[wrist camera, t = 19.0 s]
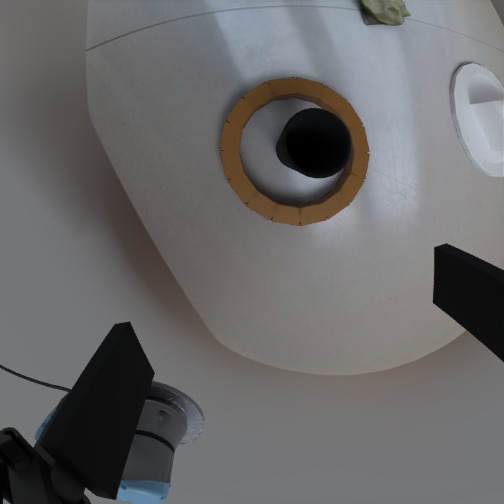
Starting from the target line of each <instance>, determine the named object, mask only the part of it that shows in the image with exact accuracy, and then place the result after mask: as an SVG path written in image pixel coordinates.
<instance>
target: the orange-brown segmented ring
mask: <svg viewBox="0 0 504 504" xmlns="http://www.w3.org/2000/svg"><path fill="white" fill-rule="evenodd" d="M288 98H297V99H301V100H305V101H309V102H313V103H315V104H317V105H318V106H320V107H321V108H322V109H324V110H327V111H329V112H331V113H333V114H335V115H336V116H337V117H338V118H339V119H340V120H342V122H343V123H344V125H345V126H346V127H347V130H348V132H349V134H350V139H351V153H350V156H349V159H348V161H347V163H346V164H345V170H344V173H343V175H342V177H341V178H340V180H339V181H338V183H337V184H336V186H335V188H334V189H333V190H332V191H331V192H329V193H328V194H326V195H325V196H323V197H322V198H321V199H319V200H318V201H315V202H311V203H306V204H301V205H297V206H295V205H290V204H284V203H279V202H274V201H273V200H271V199H270V198H268V197H267V196H265V195H263V194H262V193H260V192H259V191H257V190H256V188H255V187H254V185H253V184H252V183H251V181H250V180H249V179H248V177H247V176H246V174H245V173H244V170H243V166H242V161H241V157H240V153H239V146H240V140H241V134H242V130H243V128H244V127H245V125H246V124H247V122H248V121H249V119H250V118H251V116H252V115H253V113H254V112H255V111H257V110H259V109H260V108H262V107H263V106H265V105H267V104H268V103H270V102H271V101H275V100H281V99H288ZM346 102H347V100H346V99H344V98H343V97H342V96H340V95H339V94H337V93H336V92H335V91H333V90H332V89H330V88H329V87H328V86H326V85H325V86H324V87H323V84H321V83H318V82H314V81H310V80H306V79H302V78H298V77H297V78H296V79H295V77H292V78H285V79H278V80H271V81H268V82H264V83H263V84H261V85H259V86H258V87H256V88H254V89H253V90H251V91H250V92H248V93H246V94H245V95H243V97H242V98H240V99H239V101H238V102H237V104H236V105H235V107H234V108H233V110H232V111H231V112H230V114H229V115H228V117H227V118H226V122H224V128H223V133H222V139H221V145H220V150H221V151H220V155H221V159H222V163H223V167H224V171H225V175H226V179H229V180H228V183H229V184H230V186H231V187H232V188H233V190H234V191H235V192H236V194H237V195H238V196H239V198H240V199H241V201H242V202H243V203H244V204H246V206H247V207H249V208H250V209H252V210H254V211H255V212H257V213H258V214H260V215H262V216H263V217H265V218H267V219H268V220H272V221H273V222H279V223H285V224H291V225H297V226H299V224H300V225H301V226H303V225H307V224H311V223H316V222H320V221H325V220H327V218H328V219H330V218H331V217H332V216H334V215H335V214H337V213H338V212H339V211H341V210H342V209H344V208H345V207H346V206H348V205H349V202H352V201H353V199H354V197H355V196H356V194H357V193H358V191H359V189H360V188H361V186H362V185H363V183H364V180H363V179H365V178H366V173H367V167H368V161H369V155H370V154H369V153H366V152H369V147H368V142H367V137H366V133H365V128H364V126H362V125H363V123H362V122H361V120H360V118H359V117H358V115H357V114H356V112H355V111H354V109H353V108H352V106H351V105H350V103H349V102H348V103H346ZM360 126H362V127H360ZM230 178H231V179H230Z"/></svg>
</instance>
